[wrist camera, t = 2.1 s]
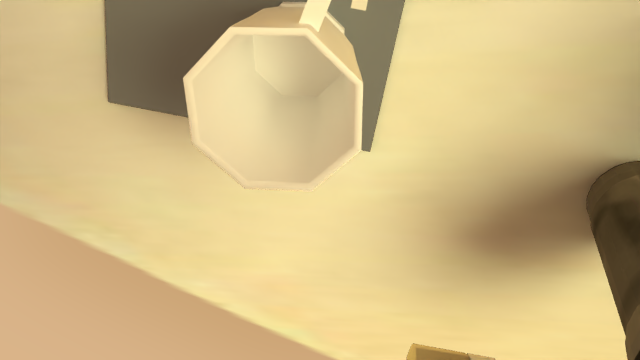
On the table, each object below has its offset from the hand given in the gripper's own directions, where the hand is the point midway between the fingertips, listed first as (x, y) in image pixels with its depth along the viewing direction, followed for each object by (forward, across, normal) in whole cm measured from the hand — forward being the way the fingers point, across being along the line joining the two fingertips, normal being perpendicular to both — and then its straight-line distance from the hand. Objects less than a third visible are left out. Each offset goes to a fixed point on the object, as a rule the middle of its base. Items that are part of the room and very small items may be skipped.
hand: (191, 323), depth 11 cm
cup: (+20, 0, 0) cm, 20 cm away
